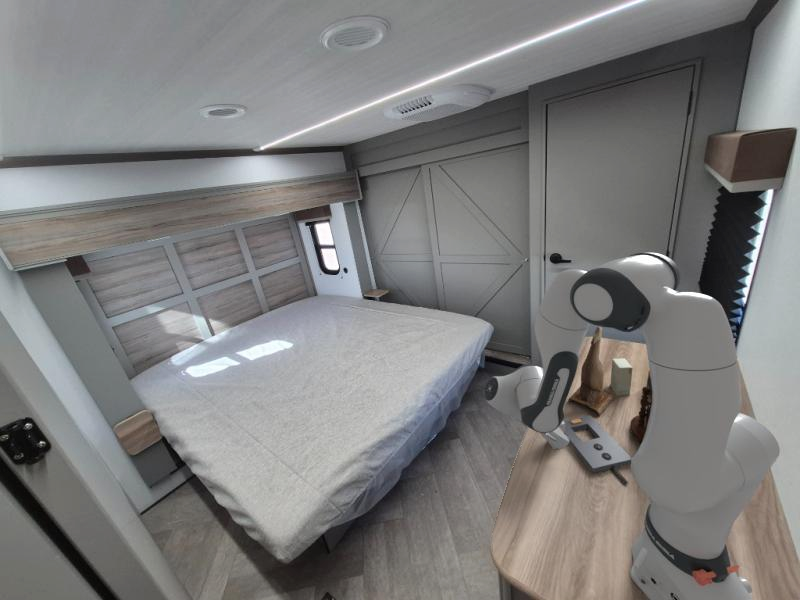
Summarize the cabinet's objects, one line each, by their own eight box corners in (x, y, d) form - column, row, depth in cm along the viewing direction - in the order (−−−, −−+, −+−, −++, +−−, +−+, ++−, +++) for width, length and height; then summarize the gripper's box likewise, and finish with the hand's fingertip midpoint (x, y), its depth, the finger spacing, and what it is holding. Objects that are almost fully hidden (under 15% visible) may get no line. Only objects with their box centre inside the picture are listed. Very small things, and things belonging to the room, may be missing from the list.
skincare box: (630, 395, 113) (633, 368, 108) (616, 395, 114) (619, 368, 109) (622, 384, 119) (625, 357, 114) (609, 384, 120) (612, 358, 115)
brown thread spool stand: (686, 428, 97) (698, 376, 90) (695, 465, 86) (709, 410, 79) (629, 415, 105) (635, 366, 98) (629, 447, 94) (637, 396, 87)
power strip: (646, 479, 85) (647, 472, 84) (605, 489, 85) (605, 482, 84) (589, 419, 106) (590, 413, 105) (556, 427, 106) (556, 421, 105)
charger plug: (564, 447, 98) (565, 419, 94) (553, 449, 98) (554, 421, 94) (557, 438, 102) (558, 411, 97) (547, 440, 102) (547, 413, 97)
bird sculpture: (567, 403, 115) (569, 330, 102) (580, 386, 121) (584, 315, 109) (600, 418, 107) (607, 340, 94) (613, 398, 113) (621, 323, 100)
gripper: (554, 428, 83) (586, 446, 87) (518, 382, 102) (547, 399, 106) (538, 443, 85) (571, 461, 89) (506, 396, 104) (534, 412, 108)
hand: (557, 427), depth 98 cm, fingers open, 8 cm apart
